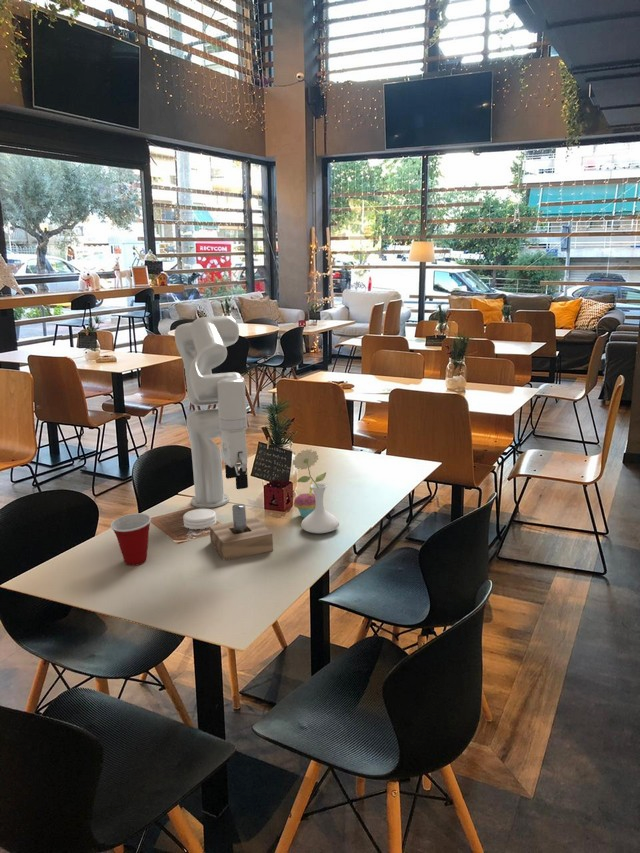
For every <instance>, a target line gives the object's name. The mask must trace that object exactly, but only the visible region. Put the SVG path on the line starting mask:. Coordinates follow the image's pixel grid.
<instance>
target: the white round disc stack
mask: <svg viewBox="0 0 640 853" xmlns="http://www.w3.org/2000/svg"><path fill="white" fill-rule="evenodd" d="M182 519H183V526H184V528H186V529H188V528H189V529H188V530H193V529H195V530H196V529H200V530H206V529H210V528H209V527H210V526H213V525H217V513H216V511H214V510H213V509H212V508H211V509H210V508H196V509H191V510H189V511H186V512H185V513H184V514H183V516H182ZM205 528H206V529H205ZM196 531H197V530H196Z"/></svg>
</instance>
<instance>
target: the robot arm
mask: <svg viewBox="0 0 640 853" xmlns="http://www.w3.org/2000/svg"><path fill="white" fill-rule="evenodd" d="M239 336H240V330H239V324H238V323H237V321H236V320H235V318H234V317H232V316H230V315H220V316H219V315H218V316H217V315H216V316H203V317H199V318H196V319H195V320H193V321H192V322H187V323H182V324H179V325H178V326H176V327H175V330H174V340H175V345H176V348H177V351H178V353H179V355H180V357H181V359H182V362H183V366H184V373H185V383H186V389H187V390H186V391H187V397H188V401H189V402H190V404H192V405H193V406H199V407H201V406H211V405H217V407H216V408H205V409H197V410H195V411H194V410H193V411H192V412H190V413H189V414H188V415H187V417H186V429H187V433H188V437H189V442H190V450H191V460H192V472H193V486H194V496H193V497H192V498H191V500H190V504H191V505H192V506H194V507H196V508H199V509H210V508H211V509H212V508H217V507H220V506H223V505H226V504H227V503H228V502H229V501H230V498H229V495H227V494H226V493H225V492H224V478H223V465H222V464H223V463H222V461H223V462H224V464H225V466H224V468H225V478H226V479H227V480H229V479H235V488H236V490H242V489H243V490H245V489H247V488H249V481H248V448H247V447H248V446H247V437H246V430H247V429H248V416H247V415H248V414H247V398H246V397H247V396H246V382H245V378H244V377H243V376H242V374H240V373H239V372H236V371H232V372H220V373H212V372H213V371H212V370H213V369H215V368H217V367H219V366H220V365H221V364H223V363H224V362H225V361H226V359H227V356H228V350H227V347H229V346H232V345H235V343H236V342H238V340H239ZM216 438H220V444H221V445H220V447H219V445H218V444H217V443H216V442H214V441H213V439H216Z"/></svg>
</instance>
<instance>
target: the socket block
mask: <svg viewBox="0 0 640 853" xmlns="http://www.w3.org/2000/svg"><path fill="white" fill-rule="evenodd" d="M246 527H247V532H245V533H240V534H235V535H234V526H233V521H231V522H224V523H219V524H215V525H213V526H210V528H209V537H210V538H209V539H210V544H211V545H212V546H213V547H214V549H215V550H216V552H218V554H219V556H221V558H222V559H223V560H224V561H228V560H233V559H238V558H242V557H243V558H244V557H248V556H252V555H257V554H262V553H266V552H267V553H268V552H272V551H274V540H273V532H271V531H270V530H269V529H268V528H267V526H265V525H264V524H263V523H262V522H261V521H260V520H259V519H258V518H257V517H251V518H246Z"/></svg>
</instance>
